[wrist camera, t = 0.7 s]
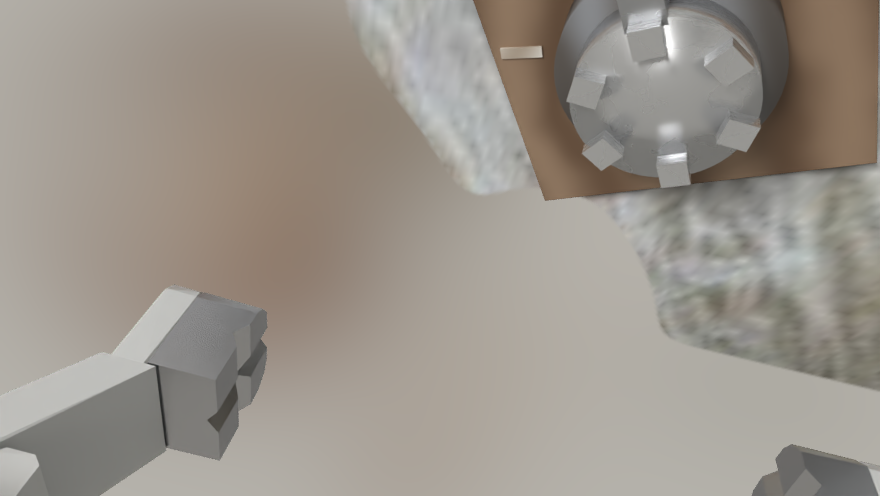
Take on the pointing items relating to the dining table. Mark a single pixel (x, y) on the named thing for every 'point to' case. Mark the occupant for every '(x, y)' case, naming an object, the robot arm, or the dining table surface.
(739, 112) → the grey crank handle
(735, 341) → the dining table surface
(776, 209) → the dining table surface
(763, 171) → the square wooden board
